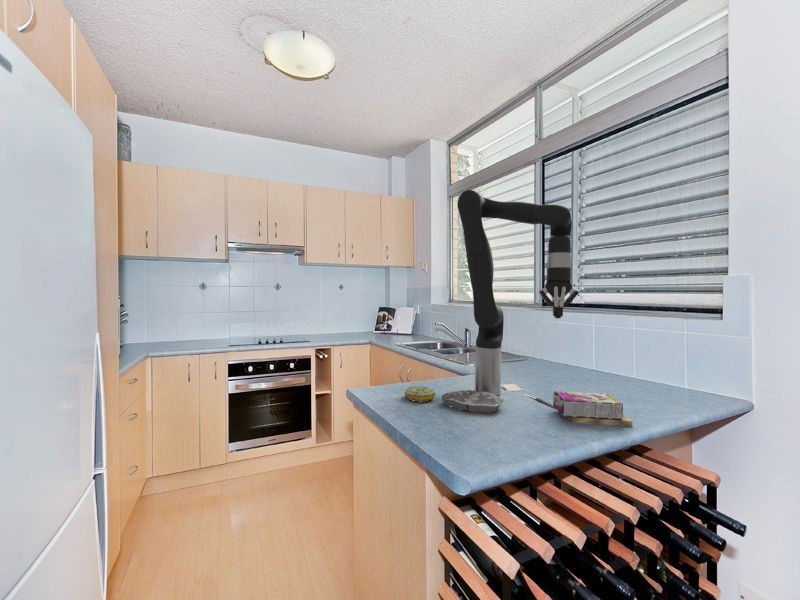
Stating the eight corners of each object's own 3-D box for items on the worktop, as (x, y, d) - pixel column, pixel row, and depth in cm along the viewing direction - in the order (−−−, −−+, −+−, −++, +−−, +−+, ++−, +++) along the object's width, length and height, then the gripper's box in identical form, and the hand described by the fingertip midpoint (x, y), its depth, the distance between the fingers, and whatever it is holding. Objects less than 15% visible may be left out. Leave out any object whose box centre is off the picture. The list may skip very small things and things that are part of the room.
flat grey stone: (507, 403, 126) (507, 394, 126) (498, 418, 111) (498, 408, 110) (451, 395, 134) (451, 387, 134) (436, 409, 119) (436, 399, 119)
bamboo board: (572, 422, 107) (572, 417, 107) (557, 405, 123) (557, 401, 123) (632, 426, 105) (632, 421, 105) (609, 408, 120) (609, 404, 120)
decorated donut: (424, 393, 136) (425, 383, 136) (440, 401, 127) (441, 390, 127) (399, 396, 132) (399, 386, 131) (414, 405, 122) (414, 393, 122)
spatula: (514, 387, 148) (514, 383, 148) (567, 410, 120) (567, 406, 120) (500, 388, 146) (500, 384, 146) (551, 412, 118) (551, 407, 118)
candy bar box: (552, 389, 118) (607, 393, 116) (552, 405, 118) (607, 408, 116) (563, 399, 107) (624, 403, 105) (562, 416, 107) (623, 420, 105)
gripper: (576, 267, 127) (574, 317, 128) (536, 267, 129) (535, 316, 130) (583, 266, 120) (582, 319, 120) (540, 266, 122) (539, 318, 122)
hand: (557, 318), depth 125 cm, fingers closed
